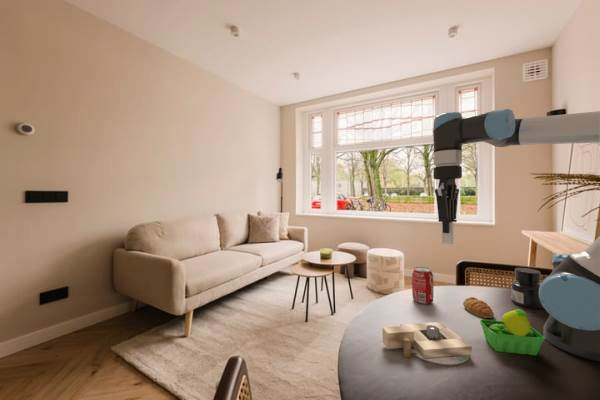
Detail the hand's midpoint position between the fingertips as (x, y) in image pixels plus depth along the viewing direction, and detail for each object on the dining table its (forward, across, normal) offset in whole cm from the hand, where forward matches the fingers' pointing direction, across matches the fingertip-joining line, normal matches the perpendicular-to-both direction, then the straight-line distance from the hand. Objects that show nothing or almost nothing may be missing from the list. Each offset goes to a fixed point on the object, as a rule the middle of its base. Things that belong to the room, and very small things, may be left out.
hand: (447, 243), depth 80 cm
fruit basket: (+25, +3, +16) cm, 30 cm away
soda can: (+25, -10, -12) cm, 29 cm away
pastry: (+25, -15, +4) cm, 29 cm away
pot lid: (+24, +16, +2) cm, 29 cm away
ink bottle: (+25, -34, +14) cm, 44 cm away
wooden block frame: (+24, +19, 0) cm, 30 cm away
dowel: (+24, +25, 0) cm, 35 cm away
